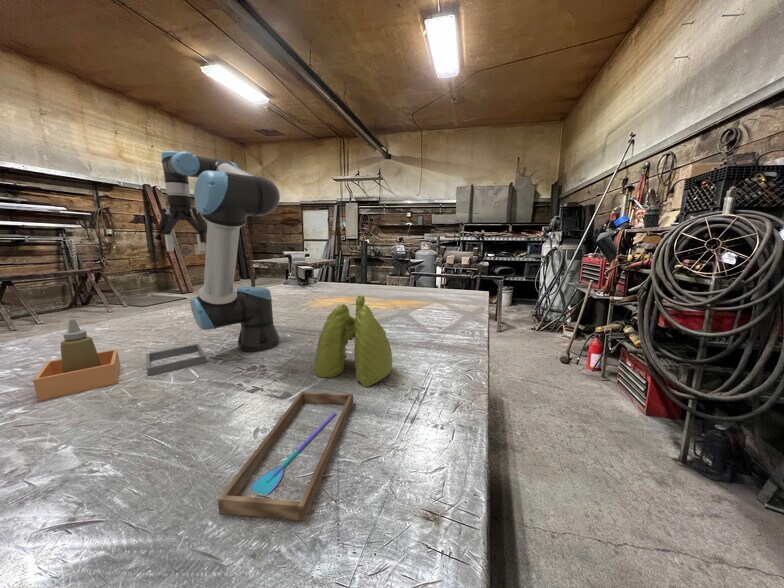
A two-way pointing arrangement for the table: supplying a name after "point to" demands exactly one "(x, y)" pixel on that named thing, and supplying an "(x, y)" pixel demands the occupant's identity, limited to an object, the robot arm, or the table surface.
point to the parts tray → (177, 364)
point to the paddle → (283, 465)
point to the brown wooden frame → (262, 506)
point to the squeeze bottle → (78, 350)
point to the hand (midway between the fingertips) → (186, 251)
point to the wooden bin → (76, 377)
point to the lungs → (368, 350)
